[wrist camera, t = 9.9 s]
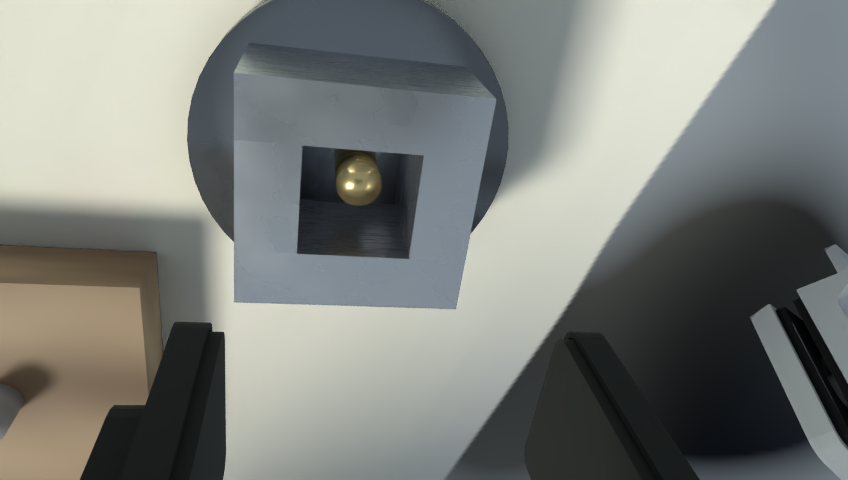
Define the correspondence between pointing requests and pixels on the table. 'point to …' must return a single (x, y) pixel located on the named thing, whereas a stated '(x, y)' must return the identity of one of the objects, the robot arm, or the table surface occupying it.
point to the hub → (344, 33)
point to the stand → (71, 352)
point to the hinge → (815, 360)
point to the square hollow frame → (337, 220)
